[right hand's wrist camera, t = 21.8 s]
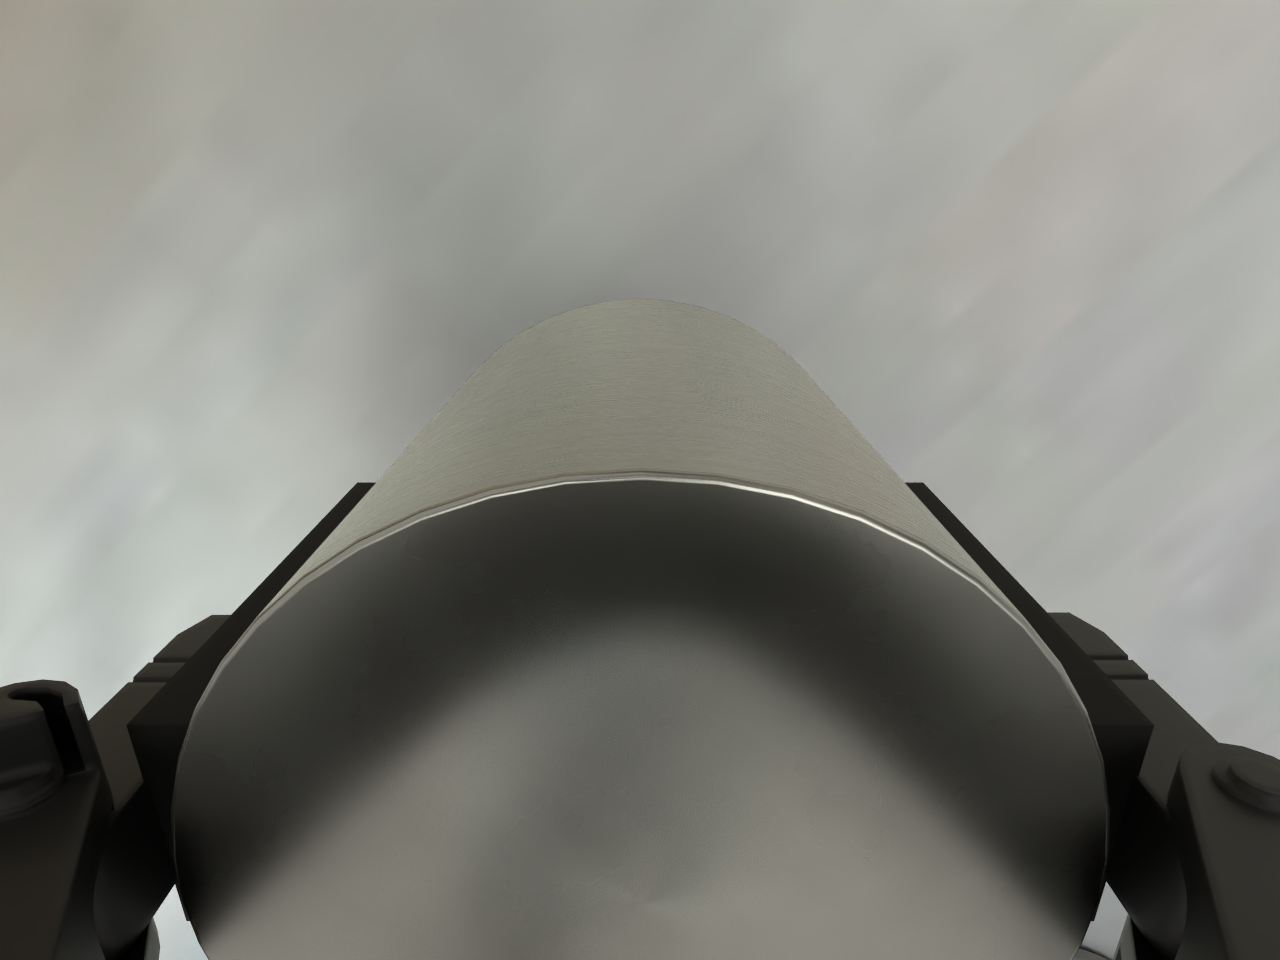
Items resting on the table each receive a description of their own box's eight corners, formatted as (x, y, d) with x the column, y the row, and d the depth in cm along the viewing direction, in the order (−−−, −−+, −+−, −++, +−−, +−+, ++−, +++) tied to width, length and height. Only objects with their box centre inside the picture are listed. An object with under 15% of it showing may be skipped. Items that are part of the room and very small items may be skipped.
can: (339, 476, 15) (-37, 837, 7) (686, 197, 13) (765, 217, 5) (605, 749, 18) (574, 1259, 9) (929, 548, 16) (1261, 962, 7)
